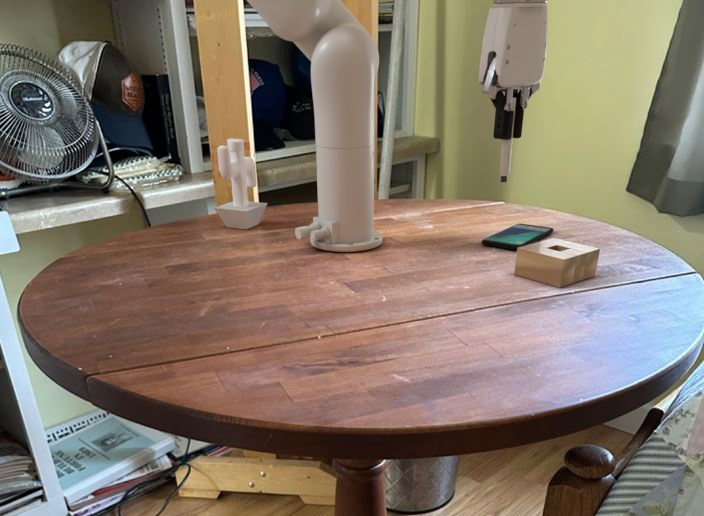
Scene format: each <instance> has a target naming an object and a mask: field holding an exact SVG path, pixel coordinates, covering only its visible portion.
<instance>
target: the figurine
mask: <svg viewBox="0 0 704 516" xmlns="http://www.w3.org/2000/svg"><path fill="white" fill-rule="evenodd" d="M216 150H217V153H216V154H217V162H218V170H219V174H220V177H221V178H222V179H224V180H230V182H231V183H230V184H231V194H232V201H230V202H226V203H223V204H220V205H217V206H215V207H213V208H214V211H215V212H216V213H217V215H218V216H219V218H220V219H221V221H222V222H223V224H224V226H225V227H226V228H229V229H230V228H231V229H238V230H240V229H241V230H249V229H250V228H254V227H255V226H259V224H260V223H261V219H262V217H263V216H264V213H265V210H266V207H267V206H268V202H259V201H251V200H250V201H249V196H248V188H251V189H253V188H255V187H257V185H258V184H257V169H256V163H255V161H254V159H253V158H252V157H250V156H245V140H244V139H241V138H234V137H230V138H227V139H226V145H219V146H218V147H216Z"/></svg>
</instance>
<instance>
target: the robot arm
mask: <svg viewBox="0 0 704 516" xmlns="http://www.w3.org/2000/svg"><path fill="white" fill-rule="evenodd" d="M246 1H247V3H248V4H249V5H250V6H251V7H252V8H253V9H254V11H255V12H256V13H257V14H258V15H259V17H261V19H262V20H263V21H264V22H265V24H266V25H267V26H268V27H269V28H270V30H271V31H272V32H273V33H274V34H275V35H276V36H278V37H279V38H280V39H282V40H285V41H286V42H287V41H289V42H292V43H293V44H294V45H295V46H296V47H297V48H298V49H299V51H300V52H302V53H303V55H304V56H305V57H306V58H307V59H308V60H309V61H310V82H311V83H310V84H311V93H312V102H313V104H312V105H313V114H314V136H315V137H314V138H315V157H316V159H315V160H316V161H315V162H316V187H317V216H313V217H312V222H310V224H309V225H303V226H298V227H295V229H294V235H295V238H296V239H297V240H304V239H308V238H309V244H310V245H311V246H312V247H314V248H316V249H319V250H322V251H327V252H337V253H338V252H339V253H342V252H343V253H352V252H353V253H354V252H362V251H368V250H371V249H374V248H377V247H379V246H381V245H382V244H383V242H384V235H383V234H382V233H381V232H380V231H378V230H375V147H376V146H375V79H376V76H377V74H378V71H379V67H380V53H379V49H378V45H377V43H376V41H375V39H374V38H373V37H372V35H371V34H370V33H369V31H368V30H367V29H366V28H365V27H364V25H362V23H361V22H360V21H359V20H358V18H356V16H355V15H354V14H353V13H352V11H350V9H349V8H348V7H347V6H346V5H345V4H344V2H343V1H342V0H246ZM547 5H548V0H493V4H492V7H491V8H489V10H488V15H487V17H486V22H485V26H484V32H483V38H482V44H481V51H480V58H479V59H480V60H479V69H478V82H479V85H481V86H482V90H481V93H482V95H483V96H484V97H486V98H488V99H490V101H491V103H492V109H493V110H494V111H495V113H494V126H493V135H492V137H493V139H495V140H496V139H497V140H502V139H503V140H510V139H511V137H512V127H513V117H514V111H510V110H511V108H512V97H515V98H516V106H515V118H514V129H513V139H520V138H522V135H523V134H522V133H523V124H524V115H525V110H526V109H527V108H528V105H529V104H528V103H529V100H530V98H531V97H532V95H534V94H535V93H536V92H538V91H539V90H540V88H541V81H542V79H543V77H544V72H545V66H546V57H547V46H548V45H547V44H548V7H547Z"/></svg>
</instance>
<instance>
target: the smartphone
mask: <svg viewBox="0 0 704 516" xmlns="http://www.w3.org/2000/svg"><path fill="white" fill-rule="evenodd" d="M554 231H555V228H553V227H550V226H549V227H548V226H542V225H534V224H527V223H516V224H513V225H511V226H510V227H508V228H505V229H503V230H501V231H499V232H496V233H495V234H492V235H490V236H488V237H486V238H484V239H482V240H481V244H482V245H483V246H490V247H496V248H503V249H508V250H515V251H517V248H518V247H522V246H525V245H529V244H533V243H536V242H537V241H538V240H541V239H542V238H545V237H546V236H548V235H550V234H552V233H554Z"/></svg>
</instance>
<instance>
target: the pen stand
mask: <svg viewBox="0 0 704 516" xmlns="http://www.w3.org/2000/svg"><path fill="white" fill-rule="evenodd" d="M600 252H601V248H598V247H595V246H589V245H586V244H581V243H577V242H573V241H568V240H565V239H560V238H556V237H551V238H547V239H543V240H540V241H535V242H533V243H531V244H529V245H525V246H522V247H518V248H517V250H516V258H515V266H514V275H515V276H519V277H522V278H525V279H529V280H532V281H536V282H539V283H543V284H545V285H549V286H552V287H556V288H559V289H560V288H563V287H566V286H569V285H572V284H576V283H578V282H581V281H584V280H588V279H590V278H593V277H596V274H597V269H598V262H599V256H600Z"/></svg>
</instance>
